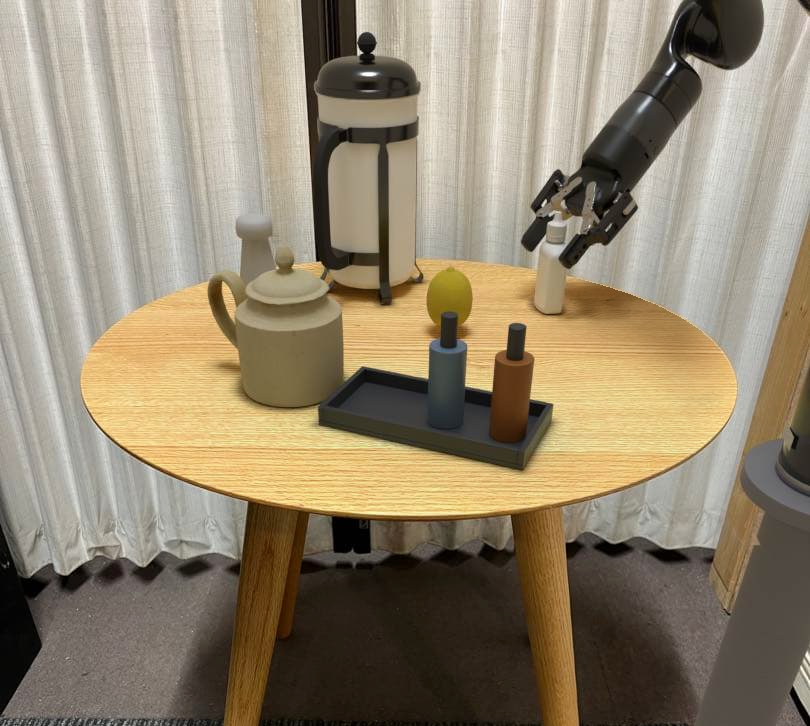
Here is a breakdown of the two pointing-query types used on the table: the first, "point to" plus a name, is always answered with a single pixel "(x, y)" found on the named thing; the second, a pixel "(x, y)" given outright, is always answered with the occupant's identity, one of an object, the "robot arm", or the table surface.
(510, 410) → the amber bottle
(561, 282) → the eye dropper bottle
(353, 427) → the tray
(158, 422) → the table surface
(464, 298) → the lemon
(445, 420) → the slate-blue bottle
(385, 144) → the coffee press
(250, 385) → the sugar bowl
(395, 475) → the table surface
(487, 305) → the table surface
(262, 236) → the salt shaker
